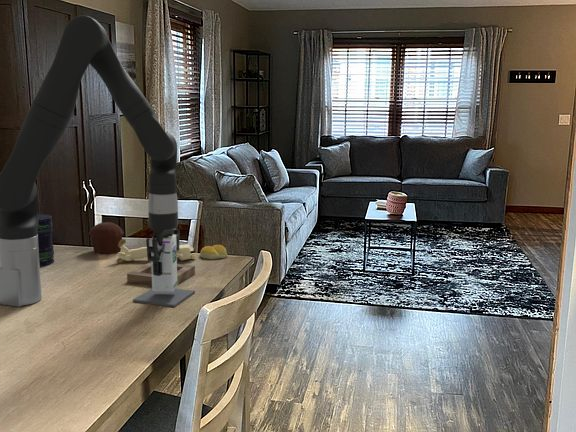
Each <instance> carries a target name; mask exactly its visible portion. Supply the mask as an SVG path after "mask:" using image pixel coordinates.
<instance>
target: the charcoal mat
mask: <svg viewBox="0 0 576 432" xmlns="http://www.w3.org/2000/svg"><path fill="white" fill-rule="evenodd" d="M195 293H196V291H195V290H191V289H182V288H177V287H176V288H175V290H174V291H173V292H156V291H152V288H150V289H148V290H147V291H145V292H143V293H142V294H140V295H138V296H136V297H134V298H133V299H132V302H133V303H140V304H146V305H147V304H148V305H155V306H162V307H169V308H170V307H171V308H175V307H177V306H179V305H180V304H182V302H184V301H186V300H187V299H188V298H190V297H192V296H193V295H195Z"/></svg>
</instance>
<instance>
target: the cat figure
mask: <svg viewBox="0 0 576 432" xmlns="http://www.w3.org/2000/svg"><path fill="white" fill-rule="evenodd" d="M126 243H127V240H126V238H122V240H121V241H120V242H119V244H118V247H120V248H121V250H123V251H125V252H123V251H121V252H119V253H118V255H117V258H118V260H117V262H118V264H122V263H123V261H126V262H131V261H135V260H138V259H139V260H141V259H145V258H147V246H142V247H139V248H132V249H130V250H129V248H128V247H126V246H125V244H126ZM195 249H196V248H194V247H192V246H190V244H188V243H187V244H186V243H185V244H179V251H177V257H178V260H180V261H185V260H190V259H195V258H196V257H197V256H198V252H196V250H195Z"/></svg>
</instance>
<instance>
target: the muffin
mask: <svg viewBox="0 0 576 432" xmlns="http://www.w3.org/2000/svg"><path fill="white" fill-rule="evenodd" d="M88 235H89V236H90V238H91V241H92V242H91V243H92V247H93V253H94V254H96V255H99V256H102V255H104V256H111V255H116V254H119V252H122V251H121V250H122V249H121V248H120V247H118V244H119V242H120V241H121V240H122V239H123V235H125V232H124V231H123V229H122V228H121V227H120V226H119V225H118V224H116V223H115V222H110V221H106V222H105V221H103V222H99V223H97V224H96V225H93V226H92V227H91V228H90V229H89V232H88Z"/></svg>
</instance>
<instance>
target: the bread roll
mask: <svg viewBox="0 0 576 432" xmlns="http://www.w3.org/2000/svg"><path fill="white" fill-rule="evenodd" d="M227 252H228V251H227V248H226V247H225V246H224V245H222V244H214V245H212V246H211V245H207V246H206V245H205V246H203V247H202V248H201V250H200V253H199V255H200V257H201V258H202V259H206V258H207V259H208V260H217V259H224V258H226V257H228V253H227Z"/></svg>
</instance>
